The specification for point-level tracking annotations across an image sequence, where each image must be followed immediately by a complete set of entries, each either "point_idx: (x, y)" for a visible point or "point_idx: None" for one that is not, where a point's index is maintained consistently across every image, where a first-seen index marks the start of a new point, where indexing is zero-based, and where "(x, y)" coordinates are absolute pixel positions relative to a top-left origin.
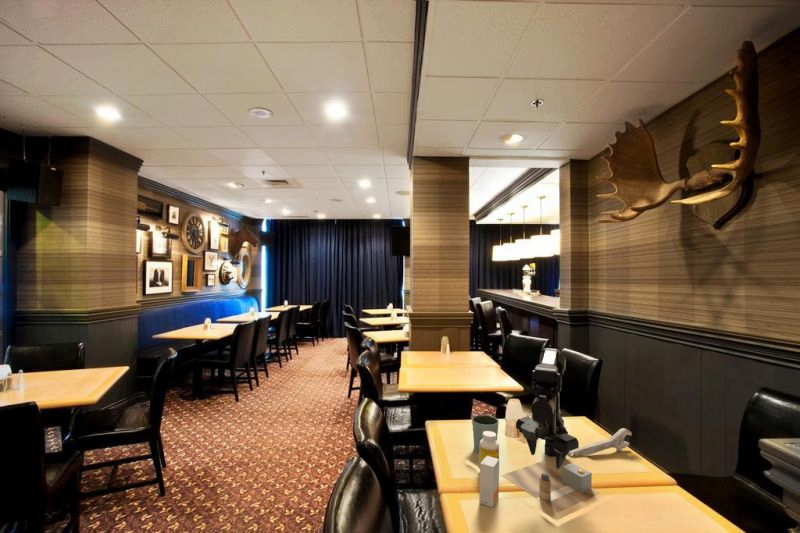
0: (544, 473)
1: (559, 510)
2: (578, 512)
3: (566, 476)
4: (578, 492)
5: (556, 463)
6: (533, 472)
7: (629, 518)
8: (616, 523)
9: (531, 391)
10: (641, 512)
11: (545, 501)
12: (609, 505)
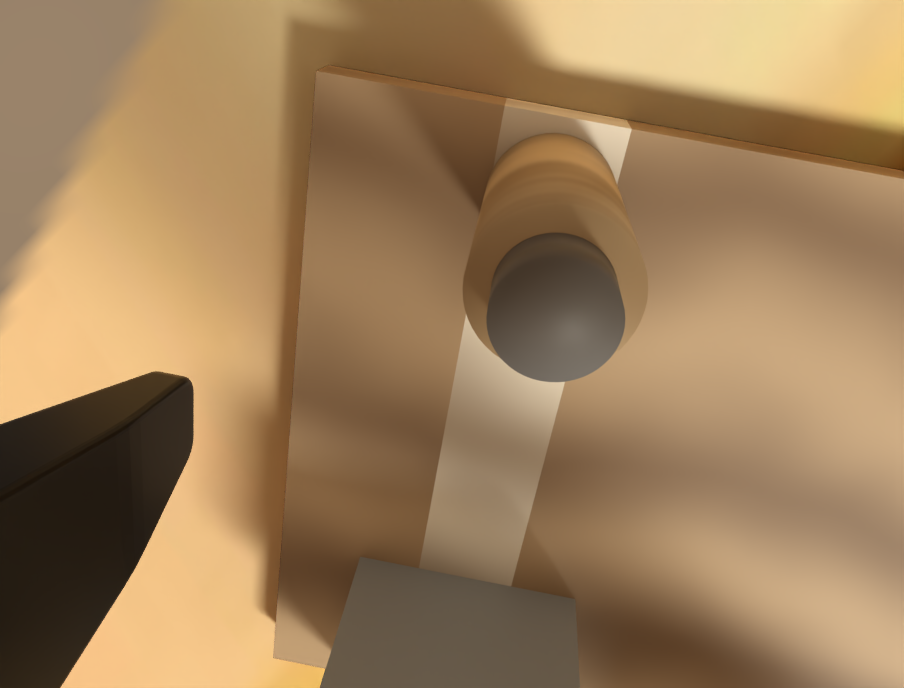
0: (588, 357)
1: (324, 121)
2: (253, 304)
3: (522, 654)
4: (384, 549)
5: (102, 426)
6: (887, 567)
7: None
8: (2, 396)
9: None
10: None
11: (515, 147)
12: (176, 572)
